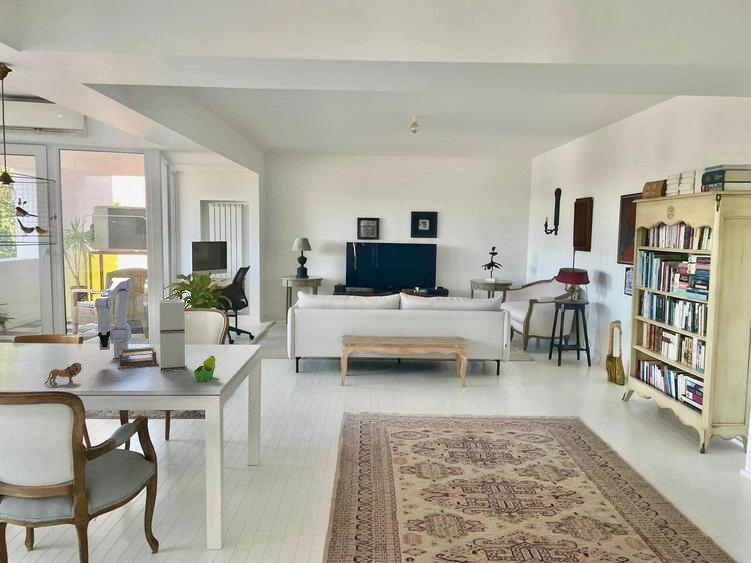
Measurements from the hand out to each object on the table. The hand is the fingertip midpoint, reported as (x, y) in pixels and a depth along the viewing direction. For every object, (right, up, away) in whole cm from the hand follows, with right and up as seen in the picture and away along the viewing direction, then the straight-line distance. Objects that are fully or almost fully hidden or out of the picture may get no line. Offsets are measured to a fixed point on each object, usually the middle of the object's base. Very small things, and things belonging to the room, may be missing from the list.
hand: (104, 346), depth 256 cm
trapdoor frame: (+14, -10, +7) cm, 18 cm away
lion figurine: (-2, -13, -29) cm, 32 cm away
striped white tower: (+36, -12, -1) cm, 37 cm away
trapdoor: (+13, -6, +8) cm, 16 cm away
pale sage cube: (0, -1, 0) cm, 1 cm away
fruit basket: (+59, -14, -18) cm, 63 cm away
